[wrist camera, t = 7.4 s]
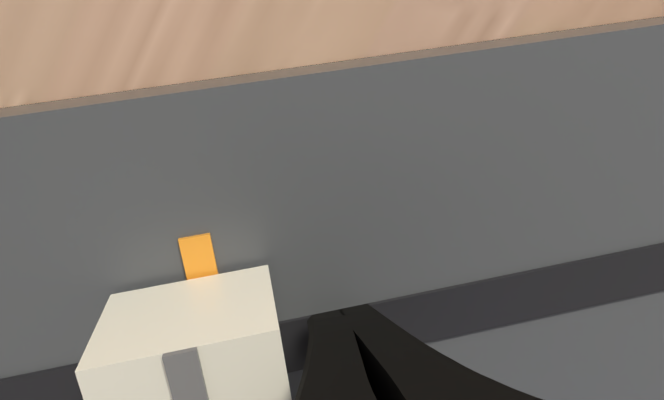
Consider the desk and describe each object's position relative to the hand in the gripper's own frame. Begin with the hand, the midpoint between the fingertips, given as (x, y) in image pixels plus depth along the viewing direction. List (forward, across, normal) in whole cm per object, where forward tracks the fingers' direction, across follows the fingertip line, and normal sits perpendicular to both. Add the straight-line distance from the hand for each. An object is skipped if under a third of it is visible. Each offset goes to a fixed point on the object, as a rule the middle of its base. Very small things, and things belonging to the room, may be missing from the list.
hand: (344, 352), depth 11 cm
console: (+3, -4, 0) cm, 5 cm away
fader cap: (0, +3, 0) cm, 3 cm away
